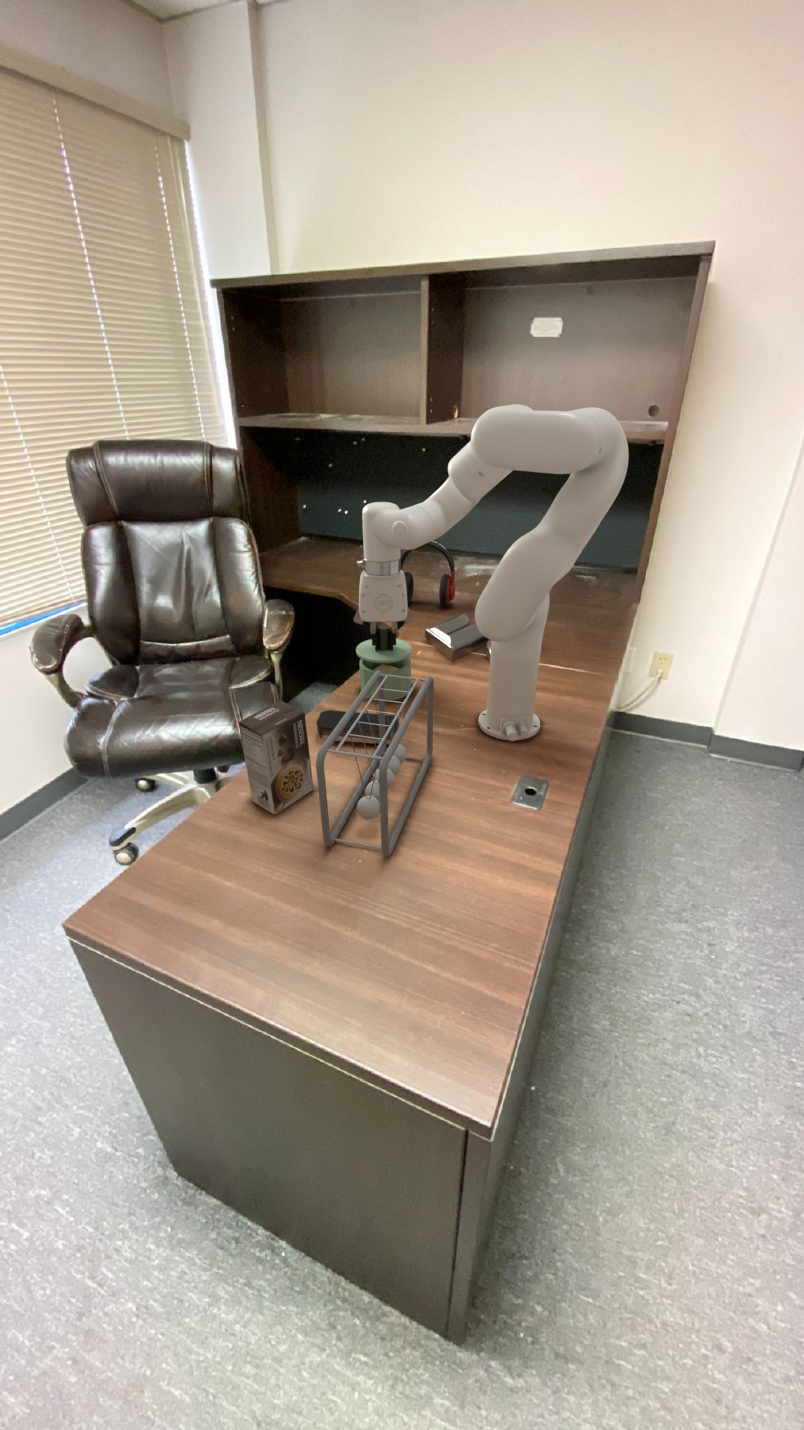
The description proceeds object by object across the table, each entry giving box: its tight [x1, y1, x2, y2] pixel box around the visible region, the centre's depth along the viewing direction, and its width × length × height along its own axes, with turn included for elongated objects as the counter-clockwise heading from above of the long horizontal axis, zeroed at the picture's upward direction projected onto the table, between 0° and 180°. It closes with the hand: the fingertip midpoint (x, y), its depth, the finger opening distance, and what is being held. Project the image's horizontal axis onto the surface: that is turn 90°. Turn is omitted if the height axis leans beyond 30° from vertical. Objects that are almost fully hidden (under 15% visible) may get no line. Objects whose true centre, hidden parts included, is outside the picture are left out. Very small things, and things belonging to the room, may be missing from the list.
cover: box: [355, 624, 413, 663], centre depth 133 cm, size 12×12×6 cm
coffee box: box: [237, 700, 314, 815], centre depth 102 cm, size 9×6×16 cm
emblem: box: [424, 613, 492, 662], centre depth 162 cm, size 28×5×28 cm
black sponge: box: [316, 709, 400, 745], centre depth 122 cm, size 16×8×4 cm, turn 81°
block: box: [374, 664, 399, 671], centre depth 138 cm, size 4×4×5 cm
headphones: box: [401, 540, 456, 608], centre depth 184 cm, size 18×10×20 cm, turn 78°
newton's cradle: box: [315, 671, 435, 857], centre depth 100 cm, size 30×10×18 cm, turn 164°
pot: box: [359, 656, 412, 702], centre depth 138 cm, size 11×11×8 cm
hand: (384, 647), depth 134 cm, fingers closed on cover, 2 cm apart
